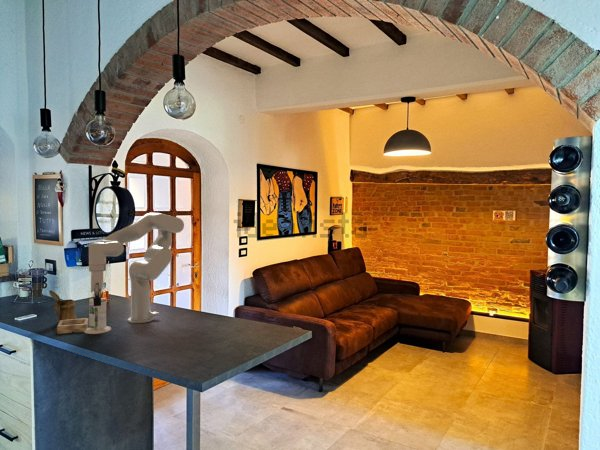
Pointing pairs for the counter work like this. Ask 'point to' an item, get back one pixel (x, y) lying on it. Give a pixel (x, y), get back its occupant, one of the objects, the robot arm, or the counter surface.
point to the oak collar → (72, 325)
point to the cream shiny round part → (91, 331)
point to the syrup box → (97, 315)
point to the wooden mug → (64, 308)
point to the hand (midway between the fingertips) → (97, 303)
